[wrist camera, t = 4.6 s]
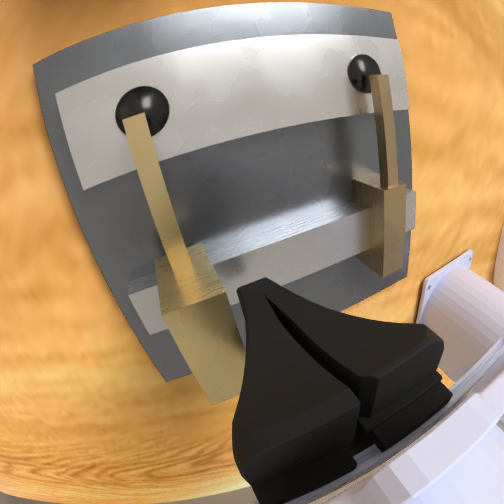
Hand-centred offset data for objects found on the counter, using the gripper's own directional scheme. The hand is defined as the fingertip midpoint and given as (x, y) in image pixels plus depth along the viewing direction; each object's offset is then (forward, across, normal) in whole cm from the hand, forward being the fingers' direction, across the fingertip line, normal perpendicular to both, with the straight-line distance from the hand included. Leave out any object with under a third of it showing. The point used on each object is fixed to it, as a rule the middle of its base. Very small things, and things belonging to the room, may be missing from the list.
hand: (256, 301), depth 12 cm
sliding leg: (+2, +2, -3) cm, 4 cm away
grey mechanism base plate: (+4, -3, -3) cm, 6 cm away
